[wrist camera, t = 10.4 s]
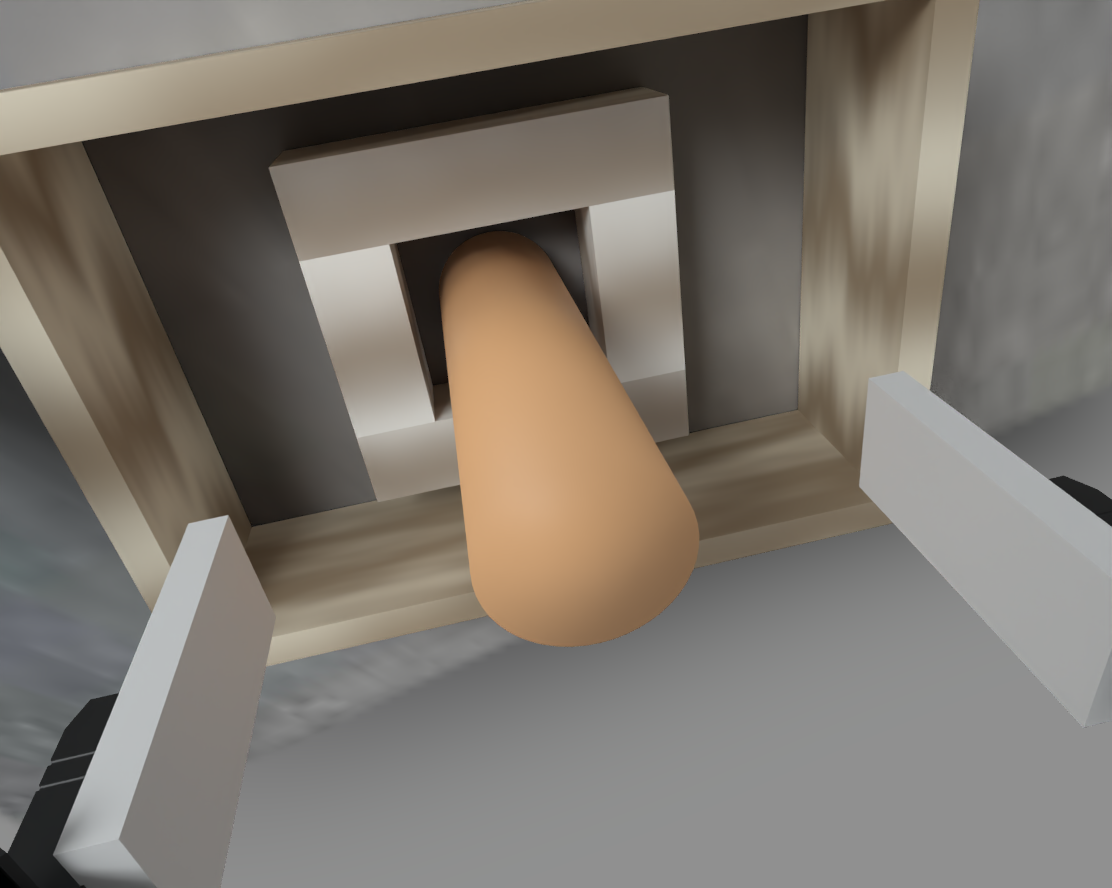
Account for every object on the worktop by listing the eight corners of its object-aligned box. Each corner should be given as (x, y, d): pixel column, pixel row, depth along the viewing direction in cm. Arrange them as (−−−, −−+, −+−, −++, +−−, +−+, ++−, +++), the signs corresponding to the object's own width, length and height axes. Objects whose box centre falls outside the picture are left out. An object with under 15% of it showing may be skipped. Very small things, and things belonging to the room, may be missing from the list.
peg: (426, 243, 27) (447, 488, 13) (548, 220, 27) (694, 437, 13) (452, 356, 29) (493, 667, 15) (564, 334, 29) (703, 619, 16)
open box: (12, 87, 22) (-132, 115, 16) (845, -53, 24) (988, -75, 18) (232, 555, 32) (192, 683, 26) (822, 427, 33) (913, 518, 27)
